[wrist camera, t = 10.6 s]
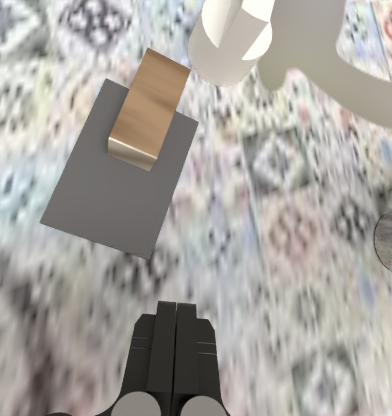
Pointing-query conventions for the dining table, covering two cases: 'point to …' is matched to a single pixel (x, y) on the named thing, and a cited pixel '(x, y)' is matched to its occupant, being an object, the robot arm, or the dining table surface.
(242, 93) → the dining table surface
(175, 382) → the robot arm
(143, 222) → the rubber mat
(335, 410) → the dining table surface
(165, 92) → the walnut block
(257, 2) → the cylinder with rectangular tab
